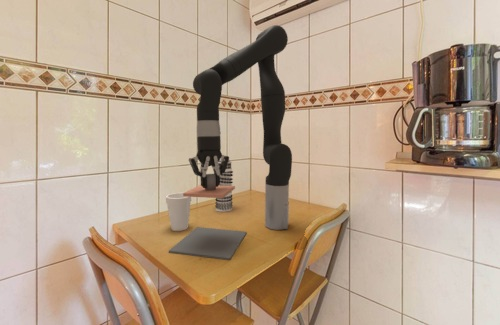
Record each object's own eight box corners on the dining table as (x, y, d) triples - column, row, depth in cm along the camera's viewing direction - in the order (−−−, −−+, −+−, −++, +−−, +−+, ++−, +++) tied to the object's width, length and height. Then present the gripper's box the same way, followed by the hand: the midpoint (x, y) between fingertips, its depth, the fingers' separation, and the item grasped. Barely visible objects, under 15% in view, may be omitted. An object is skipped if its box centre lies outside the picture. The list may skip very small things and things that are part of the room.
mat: (246, 233, 89) (246, 231, 89) (230, 260, 70) (230, 258, 70) (197, 228, 94) (197, 226, 93) (168, 252, 74) (168, 250, 74)
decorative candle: (225, 213, 112) (225, 160, 109) (210, 210, 117) (209, 159, 114) (236, 208, 120) (236, 158, 117) (222, 205, 125) (221, 157, 122)
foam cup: (196, 224, 97) (195, 193, 96) (184, 233, 88) (183, 199, 87) (175, 222, 100) (174, 192, 98) (162, 230, 91) (160, 197, 90)
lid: (234, 188, 84) (234, 172, 84) (222, 198, 72) (222, 178, 71) (200, 187, 87) (200, 171, 87) (183, 196, 75) (182, 177, 74)
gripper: (223, 135, 84) (224, 182, 86) (183, 135, 77) (186, 187, 79) (233, 134, 78) (234, 186, 80) (191, 135, 71) (193, 192, 73)
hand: (210, 186), depth 79 cm, fingers closed on lid, 3 cm apart
